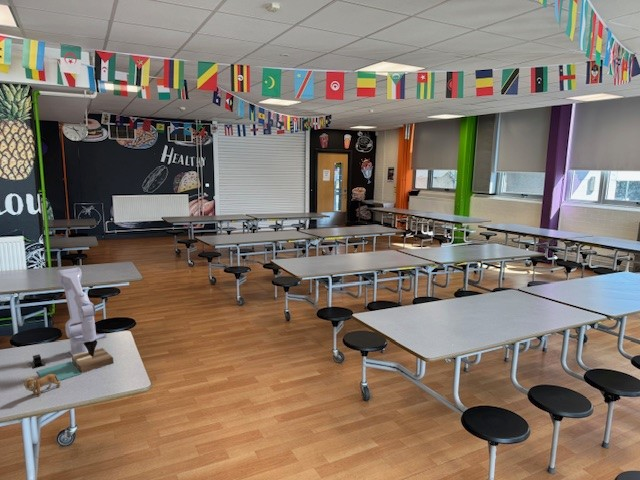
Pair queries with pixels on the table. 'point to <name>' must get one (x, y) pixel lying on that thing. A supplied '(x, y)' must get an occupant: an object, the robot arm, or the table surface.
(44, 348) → the table surface
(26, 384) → the lion figurine
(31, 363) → the black slotted bracket
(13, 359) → the table surface
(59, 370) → the teal mat
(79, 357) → the beech tile
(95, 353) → the walnut board
